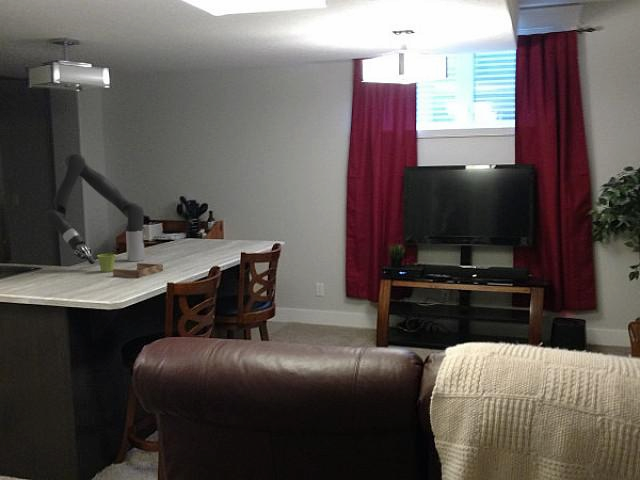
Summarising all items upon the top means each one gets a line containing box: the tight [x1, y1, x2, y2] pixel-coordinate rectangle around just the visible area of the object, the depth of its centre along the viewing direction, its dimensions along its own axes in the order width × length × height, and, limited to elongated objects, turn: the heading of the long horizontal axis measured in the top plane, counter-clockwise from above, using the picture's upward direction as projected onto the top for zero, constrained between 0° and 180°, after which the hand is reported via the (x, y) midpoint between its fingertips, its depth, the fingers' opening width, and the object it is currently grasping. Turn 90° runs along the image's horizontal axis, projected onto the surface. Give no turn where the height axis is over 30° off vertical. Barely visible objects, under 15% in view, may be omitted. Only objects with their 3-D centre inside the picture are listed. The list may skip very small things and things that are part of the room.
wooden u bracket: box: [112, 262, 164, 279], centre depth 313 cm, size 20×15×4 cm
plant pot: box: [96, 253, 117, 273], centre depth 320 cm, size 9×9×9 cm
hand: (93, 263), depth 323 cm, fingers closed
